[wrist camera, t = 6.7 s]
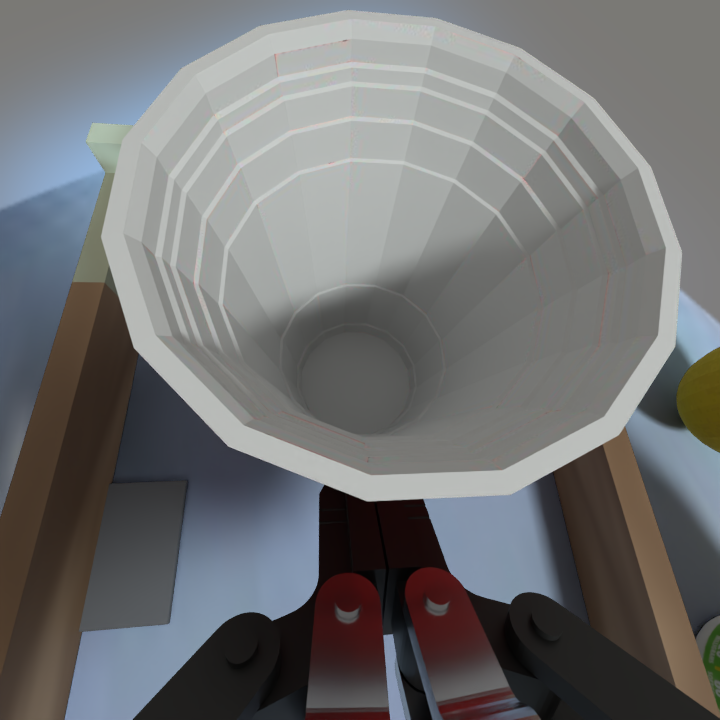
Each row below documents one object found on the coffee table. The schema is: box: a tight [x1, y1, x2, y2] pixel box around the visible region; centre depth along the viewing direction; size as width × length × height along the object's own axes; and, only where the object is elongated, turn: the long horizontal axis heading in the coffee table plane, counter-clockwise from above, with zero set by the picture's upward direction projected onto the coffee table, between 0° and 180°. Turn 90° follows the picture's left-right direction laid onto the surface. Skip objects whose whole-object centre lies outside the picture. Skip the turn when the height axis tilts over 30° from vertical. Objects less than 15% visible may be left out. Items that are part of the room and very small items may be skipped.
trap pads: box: [79, 480, 188, 632], centre depth 16 cm, size 22×6×1 cm, turn 113°
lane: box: [0, 123, 720, 720], centre depth 14 cm, size 22×24×5 cm
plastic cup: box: [101, 10, 682, 501], centre depth 12 cm, size 11×11×12 cm
